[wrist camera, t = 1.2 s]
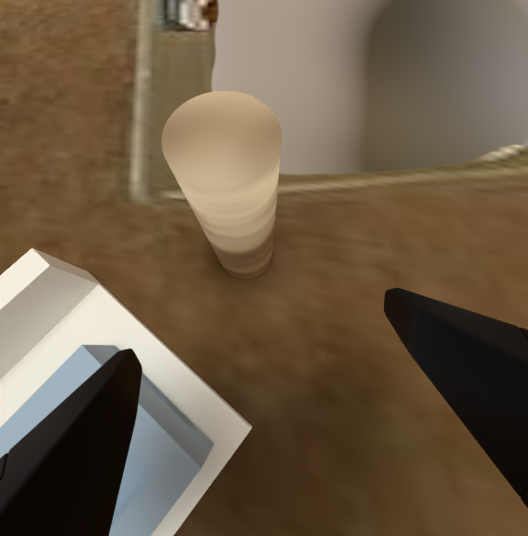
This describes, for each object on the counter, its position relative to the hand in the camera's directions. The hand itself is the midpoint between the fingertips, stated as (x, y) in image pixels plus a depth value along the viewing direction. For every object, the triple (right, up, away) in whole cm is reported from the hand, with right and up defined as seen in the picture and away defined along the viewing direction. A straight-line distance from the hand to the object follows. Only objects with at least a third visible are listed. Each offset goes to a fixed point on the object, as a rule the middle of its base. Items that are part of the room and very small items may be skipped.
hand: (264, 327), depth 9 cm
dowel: (-2, +3, +15) cm, 16 cm away
